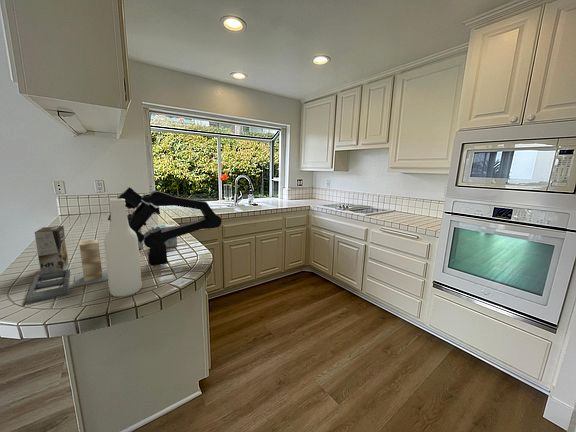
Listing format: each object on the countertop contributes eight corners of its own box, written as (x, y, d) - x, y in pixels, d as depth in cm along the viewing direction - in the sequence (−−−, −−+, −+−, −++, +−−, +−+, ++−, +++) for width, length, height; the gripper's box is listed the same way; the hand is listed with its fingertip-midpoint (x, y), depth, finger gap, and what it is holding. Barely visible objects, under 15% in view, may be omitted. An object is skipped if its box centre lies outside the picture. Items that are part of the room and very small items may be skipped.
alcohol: (142, 293, 80) (134, 200, 74) (108, 300, 75) (97, 201, 70) (142, 282, 87) (134, 197, 82) (111, 288, 83) (101, 198, 77)
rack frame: (70, 273, 93) (69, 269, 93) (68, 294, 78) (67, 289, 78) (36, 279, 88) (35, 275, 87) (26, 303, 72) (26, 298, 72)
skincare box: (143, 248, 124) (141, 224, 122) (133, 250, 121) (131, 225, 119) (139, 245, 128) (137, 222, 126) (129, 247, 125) (127, 223, 123)
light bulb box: (155, 249, 122) (153, 228, 120) (152, 246, 127) (150, 225, 125) (178, 245, 129) (176, 225, 127) (174, 242, 134) (173, 223, 132)
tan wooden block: (100, 273, 93) (96, 239, 91) (102, 277, 89) (98, 242, 87) (83, 276, 90) (79, 241, 87) (84, 281, 86) (79, 245, 84)
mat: (109, 270, 97) (108, 269, 97) (111, 279, 89) (111, 278, 89) (75, 276, 90) (75, 275, 90) (74, 287, 83) (74, 285, 83)
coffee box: (63, 271, 94) (57, 230, 91) (40, 275, 91) (33, 232, 88) (69, 263, 102) (64, 225, 99) (48, 266, 99) (42, 226, 96)
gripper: (113, 201, 99) (82, 233, 93) (131, 206, 87) (97, 243, 81) (137, 218, 107) (110, 248, 100) (156, 224, 95) (127, 260, 89)
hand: (110, 250), depth 92 cm, fingers open, 9 cm apart
